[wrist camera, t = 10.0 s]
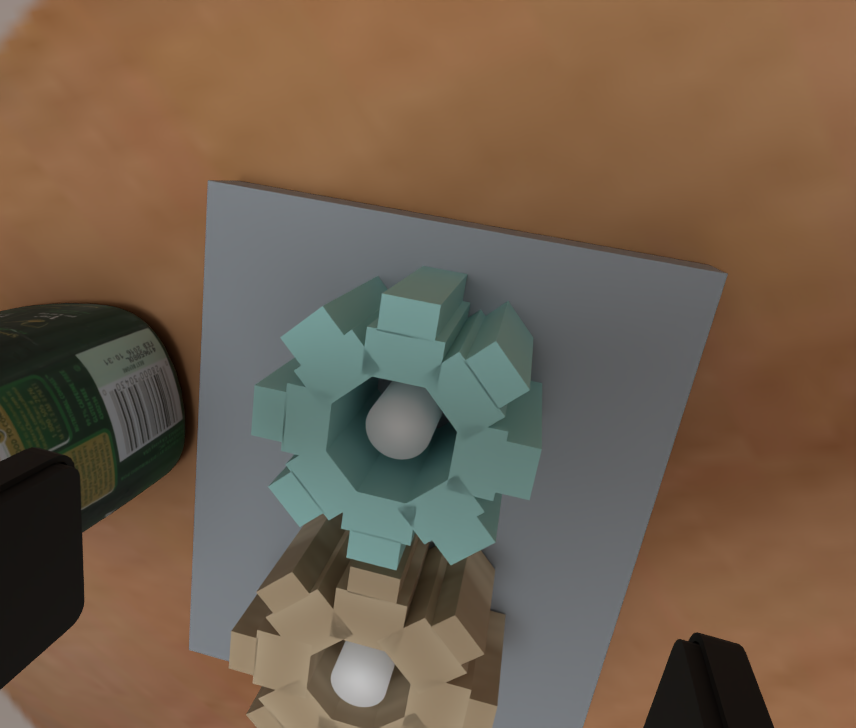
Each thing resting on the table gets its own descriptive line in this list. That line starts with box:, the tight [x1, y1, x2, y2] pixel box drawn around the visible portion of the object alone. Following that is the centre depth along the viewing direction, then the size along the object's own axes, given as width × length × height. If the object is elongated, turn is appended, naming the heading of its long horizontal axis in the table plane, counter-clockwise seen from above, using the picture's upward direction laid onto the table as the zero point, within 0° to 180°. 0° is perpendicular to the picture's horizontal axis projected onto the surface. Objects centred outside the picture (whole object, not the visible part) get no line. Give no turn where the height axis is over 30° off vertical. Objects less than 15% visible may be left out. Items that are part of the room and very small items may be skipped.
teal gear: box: [251, 266, 542, 570], centre depth 17 cm, size 7×7×5 cm
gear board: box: [189, 180, 728, 728], centre depth 20 cm, size 16×19×6 cm
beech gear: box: [229, 512, 506, 728], centre depth 20 cm, size 8×8×4 cm
